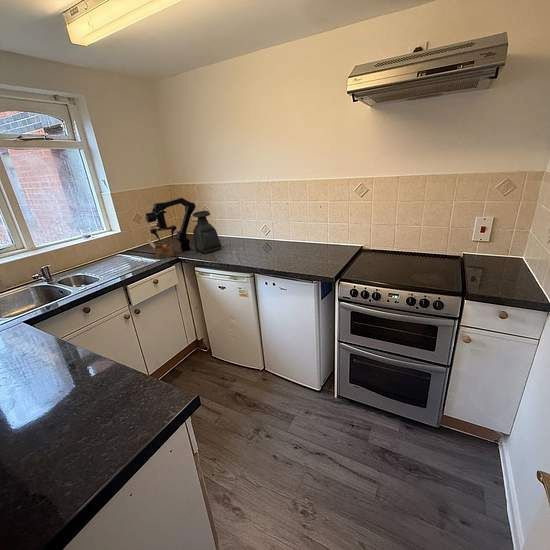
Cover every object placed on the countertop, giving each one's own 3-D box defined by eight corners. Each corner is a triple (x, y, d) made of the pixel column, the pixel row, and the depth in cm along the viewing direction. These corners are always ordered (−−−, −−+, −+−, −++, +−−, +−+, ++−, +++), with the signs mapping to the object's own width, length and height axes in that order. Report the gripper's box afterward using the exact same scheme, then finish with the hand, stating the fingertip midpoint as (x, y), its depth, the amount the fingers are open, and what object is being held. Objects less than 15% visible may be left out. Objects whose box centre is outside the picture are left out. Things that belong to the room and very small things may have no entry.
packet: (166, 244, 233) (162, 245, 232) (166, 245, 229) (162, 246, 228) (168, 253, 236) (165, 254, 235) (168, 255, 232) (165, 255, 231)
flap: (154, 248, 223) (154, 249, 223) (155, 245, 234) (154, 245, 234) (148, 242, 220) (147, 242, 220) (148, 239, 231) (148, 239, 231)
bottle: (222, 249, 231) (215, 211, 220) (202, 255, 223) (194, 215, 212) (213, 246, 245) (206, 209, 234) (194, 250, 237) (186, 213, 226)
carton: (157, 259, 226) (154, 249, 223) (157, 255, 237) (155, 246, 234) (174, 255, 230) (172, 246, 227) (174, 251, 240) (172, 243, 238)
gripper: (173, 216, 234) (178, 235, 239) (148, 220, 229) (153, 240, 234) (174, 218, 224) (178, 238, 230) (148, 222, 219) (153, 243, 225)
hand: (166, 240), depth 230 cm, fingers open, 9 cm apart
